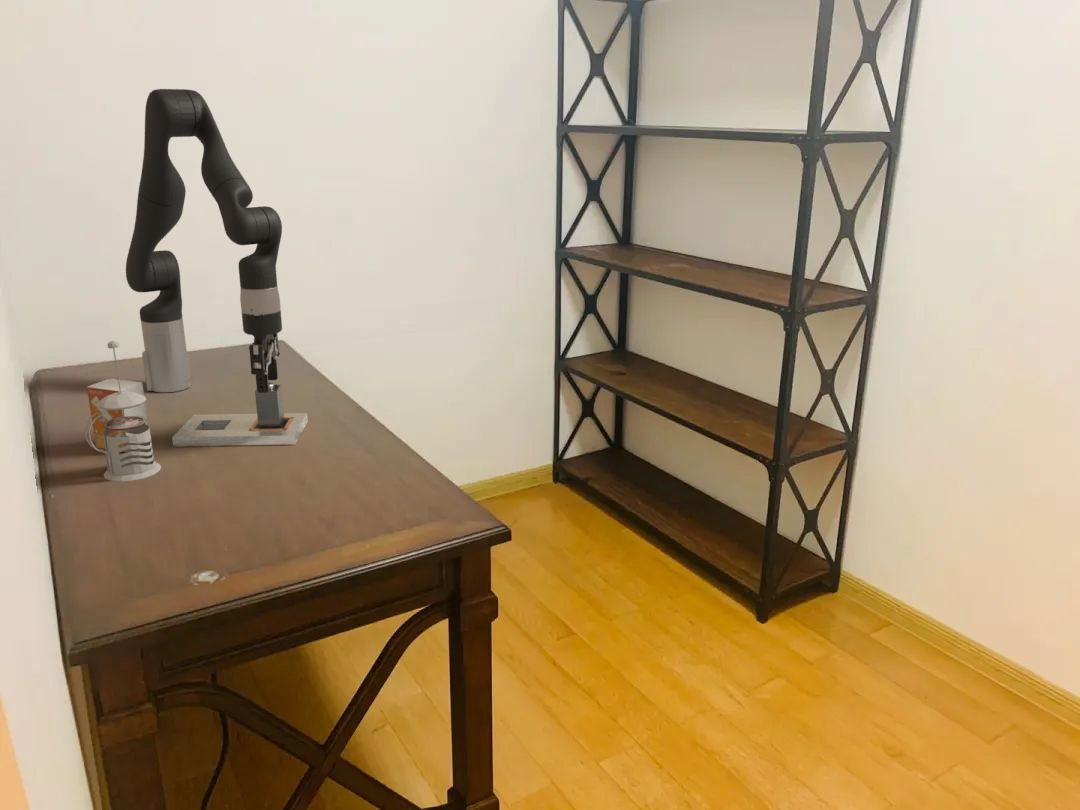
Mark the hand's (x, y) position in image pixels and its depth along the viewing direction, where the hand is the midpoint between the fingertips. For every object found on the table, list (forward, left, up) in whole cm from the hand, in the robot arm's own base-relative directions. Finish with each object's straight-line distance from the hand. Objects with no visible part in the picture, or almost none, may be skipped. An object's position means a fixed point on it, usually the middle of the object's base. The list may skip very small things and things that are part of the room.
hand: (267, 385), depth 173 cm
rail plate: (-6, 0, -10) cm, 12 cm away
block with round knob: (0, 0, -10) cm, 10 cm away
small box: (-28, -6, -11) cm, 31 cm away
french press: (-22, -20, -11) cm, 32 cm away
